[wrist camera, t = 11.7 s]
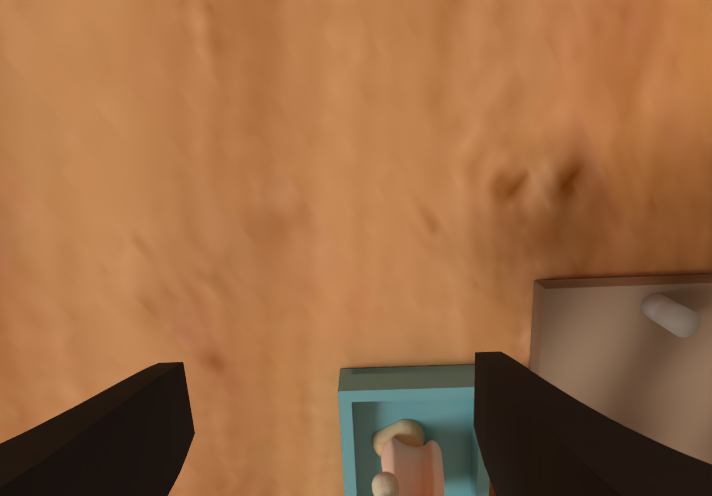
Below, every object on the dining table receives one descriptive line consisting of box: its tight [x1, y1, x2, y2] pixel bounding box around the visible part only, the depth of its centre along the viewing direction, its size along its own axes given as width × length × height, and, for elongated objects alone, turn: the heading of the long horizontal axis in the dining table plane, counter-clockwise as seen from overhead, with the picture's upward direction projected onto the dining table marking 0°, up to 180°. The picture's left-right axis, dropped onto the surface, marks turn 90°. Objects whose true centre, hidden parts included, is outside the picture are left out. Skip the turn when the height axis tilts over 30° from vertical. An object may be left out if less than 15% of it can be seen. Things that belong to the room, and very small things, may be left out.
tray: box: [338, 364, 490, 496], centre depth 22 cm, size 7×11×2 cm, turn 3°
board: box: [529, 274, 712, 465], centre depth 21 cm, size 10×14×3 cm
